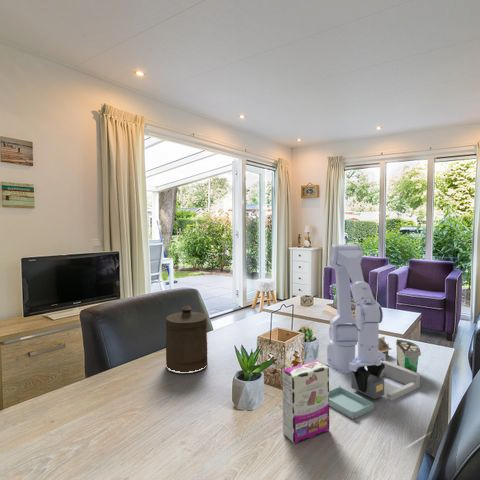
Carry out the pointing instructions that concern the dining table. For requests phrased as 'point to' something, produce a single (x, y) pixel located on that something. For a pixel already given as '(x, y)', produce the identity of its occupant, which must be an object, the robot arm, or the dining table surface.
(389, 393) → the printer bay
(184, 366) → the wooden container
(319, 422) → the candy bar box
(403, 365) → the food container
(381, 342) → the architectural model
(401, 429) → the dining table surface
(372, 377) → the grey rectangular block
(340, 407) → the tray
